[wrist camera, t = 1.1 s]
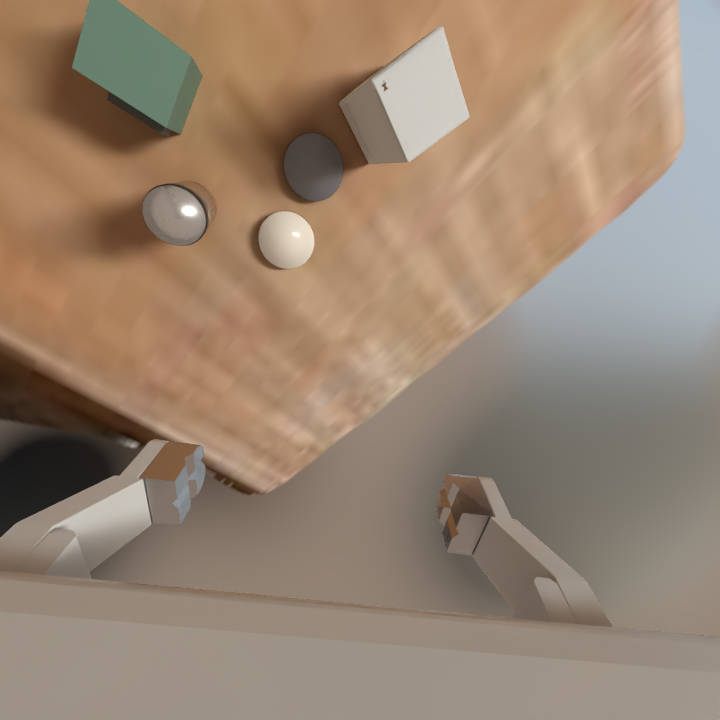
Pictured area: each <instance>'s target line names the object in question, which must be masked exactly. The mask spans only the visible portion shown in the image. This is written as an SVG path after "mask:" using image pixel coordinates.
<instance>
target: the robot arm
mask: <svg viewBox="0 0 720 720" xmlns="http://www.w3.org/2000/svg"><path fill="white" fill-rule="evenodd" d="M203 456H204V450H203V446H201V445H195V444H188V443H181V442H174V441H164V440H157V439H154V440H152V441H150V442H149V443H148V444H147V445H146V446H145V447H144V448H143V450H142V451H141V452H140V453H139V454H138V455H137V456H136V458H135V459H134V460H133V461H132V462H131V463H130V464H129V466H128V467H127V468H126V469H125V470H124V471H123V472H122V474H121V475H120V476H113V477H110V478H109V479H106V480H104V481H102V482H100V483H98V484H96V485H94V486H92V487H90V488H88V489H86V490H84V491H82V492H80V493H78V494H75V495H73V496H71V497H69V498H67V499H66V500H63V501H61V502H59V503H57V504H55V505H53V506H51V507H49V508H47V509H45V510H43V511H40V512H38V513H37V514H34V515H32V516H30V517H28V518H26V519H24V520H22V521H20V522H18V523H16V524H15V525H14V526H13V527H12V528H11V529H9V531H7V532H6V533H5V534H4V535H3V536H2V537H1V538H0V720H720V637H715V636H704V635H692V634H682V633H670V632H660V631H659V632H658V631H648V630H637V629H627V628H615V627H612V625H611V623H610V621H609V620H608V618H607V616H606V614H605V613H604V611H603V610H602V608H601V606H600V604H599V602H598V601H597V599H596V597H595V595H594V594H593V592H592V590H591V589H590V587H589V585H588V584H587V582H586V580H585V579H583V578H582V577H581V576H580V575H579V574H578V573H577V572H575V571H574V570H573V569H572V568H571V567H569V565H567V564H566V563H565V562H564V561H563V560H562V559H561V558H559V557H558V556H557V555H556V554H555V553H554V552H553V551H551V550H550V549H549V548H548V547H547V546H546V545H545V544H543V543H542V542H541V541H540V540H539V539H538V538H537V537H535V536H534V535H533V534H532V533H531V532H530V531H528V530H527V529H526V528H525V527H524V526H523V525H522V524H520V523H519V522H518V521H517V520H514V519H511V517H510V514H509V512H508V510H507V508H506V506H505V504H504V502H503V500H502V497H501V495H500V493H499V491H498V489H497V487H496V485H495V483H494V481H493V480H492V479H491V478H485V477H473V476H464V475H454V474H447V475H446V476H445V478H444V481H443V483H444V487H445V488H444V489H443V490H441V491H440V493H439V496H438V502H437V513H438V518H439V521H440V522H441V523H442V524H443V525H444V529H443V531H442V535H443V539H444V543H445V547H446V551H447V552H450V553H458V554H465V555H466V554H467V555H473V556H472V557H473V558H474V560H475V561H476V562H477V564H478V565H479V566H480V568H481V569H482V570H483V571H484V573H485V574H486V575H487V577H488V578H489V579H490V581H491V582H492V583H493V585H494V586H495V587H496V588H497V590H498V591H499V592H500V594H501V595H502V596H503V598H504V599H505V600H506V601H507V603H508V604H509V605H510V607H511V608H512V609H513V611H514V613H513V615H512V616H511V618H507V617H496V616H486V615H475V614H464V613H453V612H441V611H431V610H420V609H409V608H398V607H387V606H376V605H365V604H354V603H342V602H332V601H321V600H310V599H300V598H288V597H278V596H266V595H257V594H246V593H234V592H224V591H212V590H202V589H192V588H179V587H170V586H158V585H148V584H137V583H126V582H116V581H105V580H93V579H91V576H90V573H89V572H90V571H91V570H92V569H94V568H95V567H96V566H98V565H99V564H100V563H102V562H103V561H104V560H105V559H107V558H108V557H110V556H111V555H112V554H113V553H115V552H116V551H117V550H119V549H120V548H121V547H123V546H124V545H125V544H127V543H128V542H129V541H130V540H132V539H133V538H134V537H136V536H137V535H138V534H140V533H141V532H142V531H143V530H145V529H146V528H147V527H149V526H150V525H151V524H152V523H164V524H177V525H181V523H182V522H183V520H184V518H185V516H186V514H187V513H188V511H189V509H190V507H191V501H190V499H191V498H193V497H195V496H196V495H197V494H198V493H199V491H200V489H201V487H202V484H203V481H204V478H205V465H204V463H203V462H202V461H201V459H202V457H203Z"/></svg>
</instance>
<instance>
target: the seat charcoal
mask: <svg viewBox="0 0 720 720" xmlns="http://www.w3.org/2000/svg"><path fill="white" fill-rule="evenodd" d="M284 173H285V177H286V179H287V182H288V184H289V185H290V187H291V188H292V189H293V191H294V192H295V193H297V194H298V195H299V196H301V197H302V198H304V199H307V200H310V201H321V200H325V199H327V198H329V197H330V196H332V195H333V194H334V193H335V192H336V190H337V189H338V187H339V186H340V183H341V181H342V176H343V162H342V158H341V155H340V153H339V151H338V149H337V147H336V146H335V145H334V144H333V142H331V141H330V140H329V139H328V138H326V137H325V136H323V135H320V134H316V133H308V134H304V135H301V136H299V137H298V138H296V139H295V140H294V141H293V142H292V143H291V144H290V145H289V147H288V149H287V151H286V153H285V157H284Z"/></svg>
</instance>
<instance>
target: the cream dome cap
mask: <svg viewBox="0 0 720 720" xmlns="http://www.w3.org/2000/svg"><path fill="white" fill-rule="evenodd" d="M258 237H259V246H260V249H261V251H262V253H263V255H264V256H265V258H266V259H267V260H268V261H269V262H270V263H272V264H273V265H275V266H277V267H280V268H285V269H292V268H296V267H299V266H301V265H302V264H304V263H305V262H306V261H307V260H308V259H309V258H310V256H311V254H312V252H313V249H314V235H313V232H312V229H311V227H310V226H309V224H308V223H307V222H306V221H305V220H304V219H303V218H302V217H301V216H300V215H298V214H296V213H294V212H291V211H277V212H274V213H272V214H270V215H269V216H268V217H267V218H266V219H265V220H264V221H263V222H262V224H261V226H260V229H259V235H258Z"/></svg>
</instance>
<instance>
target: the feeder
mask: <svg viewBox="0 0 720 720" xmlns="http://www.w3.org/2000/svg"><path fill="white" fill-rule="evenodd" d="M72 68H73V69H75V70H76V71H78V72H79V73H81V74H83V75H84V76H86V77H87V78H89V79H90V80H92V81H94V82H95V83H97V84H98V85H100V86H101V87H103V88H104V89H106V90H108V91H109V95H108V99H107V100H108V101H110V102H112V103H113V104H115V105H116V106H118V107H120V108H121V109H123V110H124V111H126V112H128V113H129V114H131V115H132V116H134V117H136V118H137V119H139V120H140V121H142V122H144V123H145V124H147V125H148V126H150V127H152V128H153V129H155V130H156V131H158V132H160V133H161V134H163V135H166V136H170V134H171V131H174V132H177V133H179V134H181V132H182V129H183V127H184V124H185V121H186V118H187V116H188V113H189V110H190V108H191V105H192V102H193V100H194V97H195V94H196V91H197V89H198V86H199V83H200V81H201V78H202V74H201V72H200V71H199V69H198V67H197V65H196V64H195V62H194V60H193V58H192V57H191V56H190V55H189V54H187V53H186V52H185V51H183V50H182V49H181V48H179V47H178V46H177V45H175V44H174V43H173V42H171V41H170V40H169V39H167V38H166V37H165V36H163V35H162V34H161V33H159V32H158V31H157V30H155V29H154V28H153V27H152V26H150V25H149V24H148V23H146V22H145V21H144V20H142V19H141V18H140V17H138V16H137V15H136V14H134V13H133V12H132V11H130V10H129V9H128V8H126V7H125V6H124V5H122V4H121V3H120V2H118V1H117V0H89V3H88V7H87V11H86V15H85V19H84V23H83V27H82V31H81V34H80V38H79V42H78V46H77V50H76V54H75V58H74V61H73V65H72Z"/></svg>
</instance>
